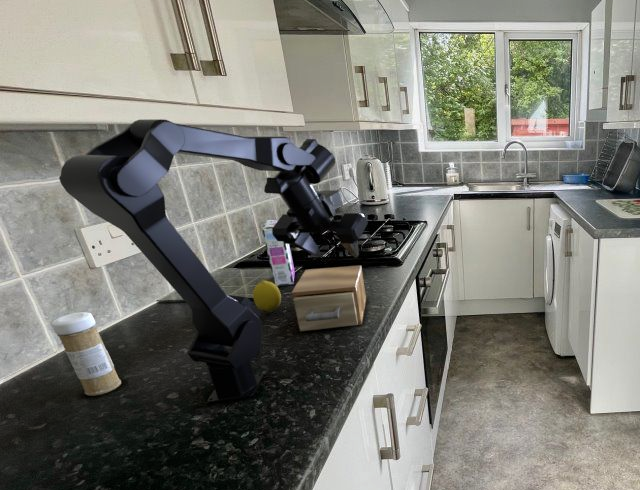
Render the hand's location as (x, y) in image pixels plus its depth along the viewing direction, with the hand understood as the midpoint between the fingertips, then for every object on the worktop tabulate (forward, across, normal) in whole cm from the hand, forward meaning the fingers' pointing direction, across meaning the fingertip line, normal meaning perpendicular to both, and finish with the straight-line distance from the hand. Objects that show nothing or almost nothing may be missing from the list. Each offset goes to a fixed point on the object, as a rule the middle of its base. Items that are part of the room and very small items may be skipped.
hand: (338, 255), depth 90 cm
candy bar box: (+20, +31, -10) cm, 38 cm away
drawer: (+10, +2, +10) cm, 14 cm away
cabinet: (+12, +4, +7) cm, 15 cm away
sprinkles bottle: (-4, +26, +36) cm, 44 cm away
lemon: (+11, +19, +8) cm, 24 cm away
